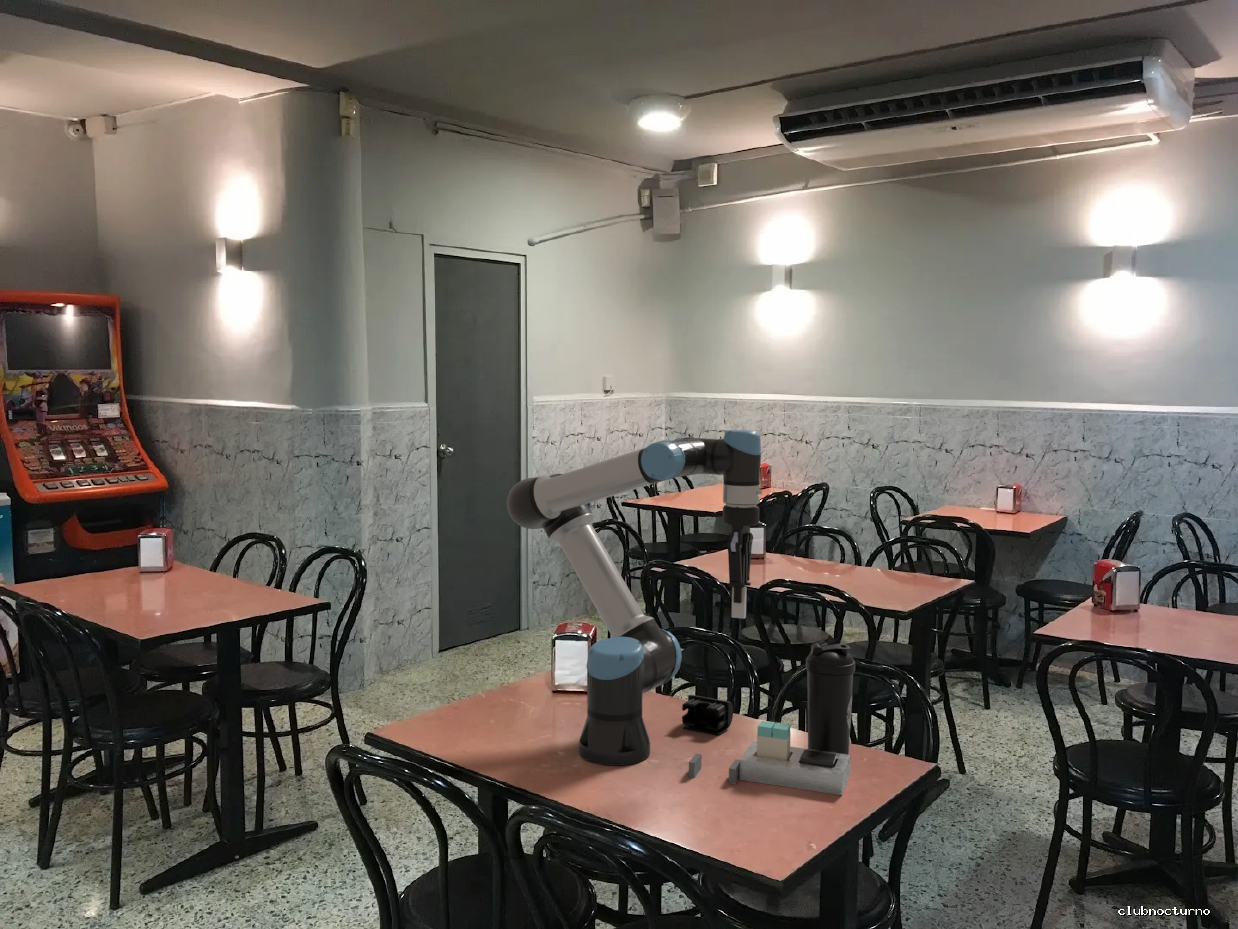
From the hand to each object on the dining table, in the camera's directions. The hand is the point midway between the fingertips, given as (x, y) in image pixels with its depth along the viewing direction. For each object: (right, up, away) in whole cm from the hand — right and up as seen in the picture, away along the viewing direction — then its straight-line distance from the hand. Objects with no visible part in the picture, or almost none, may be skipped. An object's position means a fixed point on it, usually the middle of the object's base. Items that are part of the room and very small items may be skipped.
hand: (738, 617), depth 206 cm
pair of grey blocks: (-6, -30, -9) cm, 32 cm away
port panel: (+10, -30, -9) cm, 33 cm away
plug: (+6, -30, -8) cm, 32 cm away
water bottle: (+19, -29, +4) cm, 35 cm away
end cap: (-5, -28, +18) cm, 34 cm away
